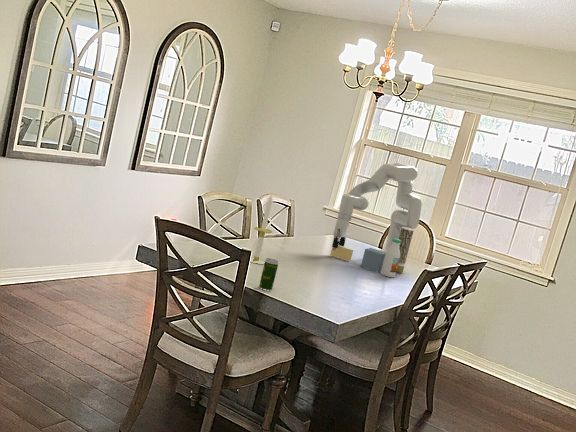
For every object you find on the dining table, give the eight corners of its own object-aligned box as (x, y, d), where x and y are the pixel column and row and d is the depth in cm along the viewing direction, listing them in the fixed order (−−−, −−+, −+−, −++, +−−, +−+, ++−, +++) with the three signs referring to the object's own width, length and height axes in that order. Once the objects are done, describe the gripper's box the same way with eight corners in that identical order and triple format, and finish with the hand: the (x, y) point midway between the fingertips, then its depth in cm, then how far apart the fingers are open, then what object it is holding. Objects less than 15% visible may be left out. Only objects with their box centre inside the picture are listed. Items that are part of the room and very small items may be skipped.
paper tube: (402, 274, 371) (413, 230, 368) (390, 271, 372) (401, 227, 369) (402, 272, 377) (414, 229, 374) (390, 269, 379) (402, 226, 375)
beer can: (271, 288, 270) (278, 259, 268) (272, 292, 264) (279, 262, 263) (258, 285, 269) (265, 257, 267) (259, 289, 264) (265, 260, 262)
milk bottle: (383, 276, 352) (393, 239, 350) (378, 272, 360) (387, 236, 357) (396, 278, 354) (406, 242, 352) (391, 274, 362) (400, 238, 359)
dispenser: (366, 265, 372) (370, 247, 371) (383, 270, 368) (387, 253, 367) (360, 266, 364) (365, 248, 362) (377, 272, 360) (382, 254, 358)
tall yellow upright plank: (330, 255, 376) (333, 244, 376) (350, 261, 372) (353, 250, 371) (330, 255, 375) (332, 244, 375) (349, 261, 371) (352, 250, 370)
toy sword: (242, 260, 310) (258, 191, 305) (248, 257, 319) (264, 190, 315) (262, 266, 307) (279, 196, 303) (268, 262, 317) (284, 195, 313)
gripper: (343, 214, 381) (337, 243, 384) (332, 215, 366) (326, 246, 368) (356, 217, 378) (349, 247, 381) (345, 219, 363) (338, 249, 365)
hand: (337, 246), depth 375 cm, fingers open, 9 cm apart
